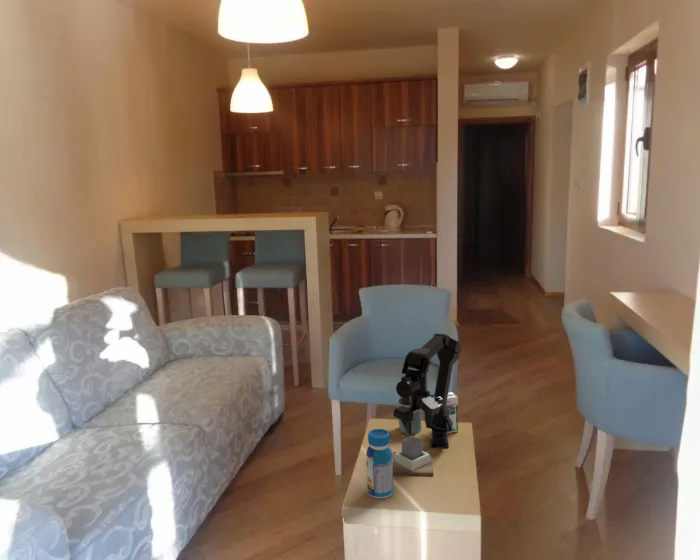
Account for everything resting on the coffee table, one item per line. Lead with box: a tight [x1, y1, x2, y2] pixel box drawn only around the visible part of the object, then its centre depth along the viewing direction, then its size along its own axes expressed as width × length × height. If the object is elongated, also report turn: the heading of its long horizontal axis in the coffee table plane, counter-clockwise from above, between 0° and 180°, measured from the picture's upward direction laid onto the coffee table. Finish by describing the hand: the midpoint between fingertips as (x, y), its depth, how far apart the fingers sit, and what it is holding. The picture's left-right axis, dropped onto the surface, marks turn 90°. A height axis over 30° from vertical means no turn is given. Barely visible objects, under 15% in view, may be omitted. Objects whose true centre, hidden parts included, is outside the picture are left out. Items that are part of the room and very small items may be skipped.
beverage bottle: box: [365, 428, 394, 499], centre depth 176 cm, size 8×8×20 cm
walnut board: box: [392, 451, 434, 477], centre depth 194 cm, size 14×14×1 cm
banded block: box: [401, 435, 424, 460], centre depth 194 cm, size 5×5×8 cm
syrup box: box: [446, 391, 459, 434], centre depth 219 cm, size 6×6×14 cm
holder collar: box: [394, 449, 430, 471], centre depth 194 cm, size 9×9×3 cm
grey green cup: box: [396, 397, 423, 435], centre depth 221 cm, size 10×10×12 cm
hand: (419, 430), depth 194 cm, fingers open, 9 cm apart
